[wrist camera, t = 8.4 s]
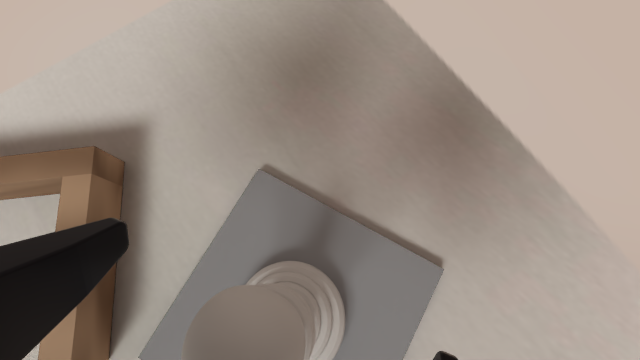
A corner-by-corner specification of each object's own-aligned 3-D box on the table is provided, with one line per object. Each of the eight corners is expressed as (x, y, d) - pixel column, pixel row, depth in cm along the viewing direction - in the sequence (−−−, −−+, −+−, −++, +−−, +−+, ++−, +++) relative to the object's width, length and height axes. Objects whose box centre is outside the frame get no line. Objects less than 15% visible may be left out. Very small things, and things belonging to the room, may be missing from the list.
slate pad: (337, 497, 14) (336, 503, 14) (142, 355, 17) (138, 357, 16) (441, 269, 17) (444, 269, 16) (260, 170, 19) (259, 168, 19)
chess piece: (219, 352, 16) (75, 441, 7) (261, 246, 17) (181, 216, 9) (323, 398, 15) (299, 557, 7) (359, 283, 16) (379, 289, 8)
